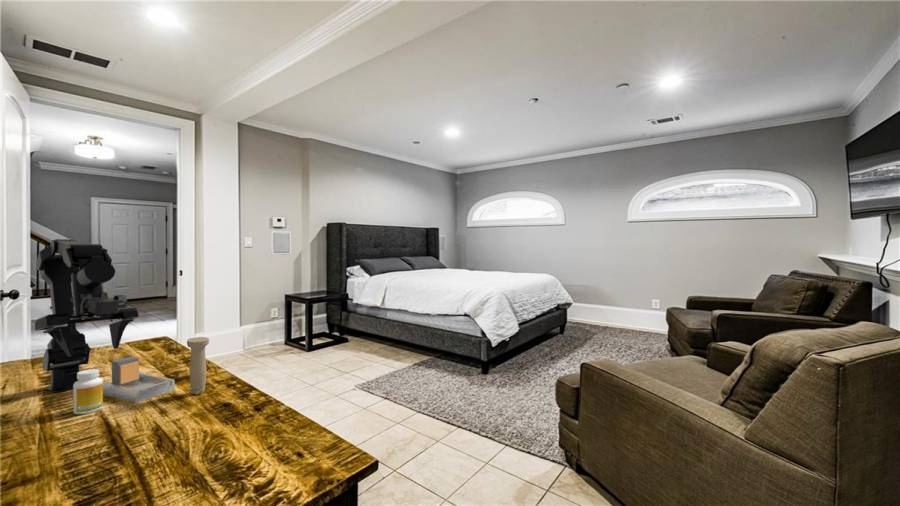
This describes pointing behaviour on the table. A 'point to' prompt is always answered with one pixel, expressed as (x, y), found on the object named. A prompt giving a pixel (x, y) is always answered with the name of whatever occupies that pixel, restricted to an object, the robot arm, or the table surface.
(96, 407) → the supplement bottle
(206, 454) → the table surface
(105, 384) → the grey tray
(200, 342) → the handle
